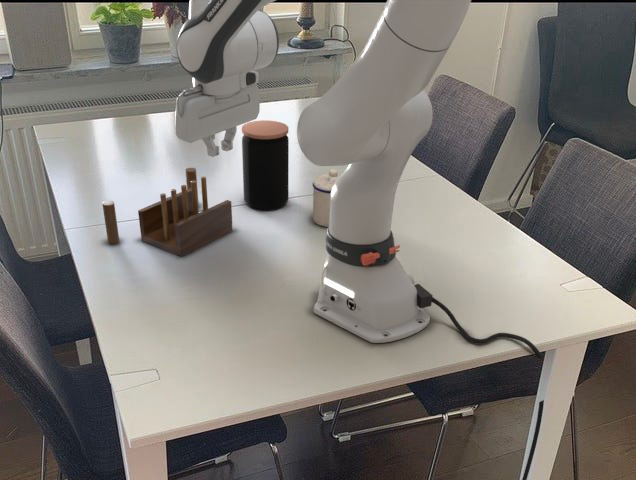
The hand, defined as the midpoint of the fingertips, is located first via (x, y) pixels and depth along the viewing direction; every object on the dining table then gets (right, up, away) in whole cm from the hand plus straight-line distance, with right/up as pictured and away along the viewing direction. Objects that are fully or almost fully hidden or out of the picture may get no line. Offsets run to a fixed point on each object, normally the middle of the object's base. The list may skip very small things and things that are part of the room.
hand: (220, 152), depth 148 cm
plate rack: (-9, -13, +17) cm, 24 cm away
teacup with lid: (+22, -8, +26) cm, 36 cm away
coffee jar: (+7, -3, +33) cm, 34 cm away
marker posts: (-17, -10, +22) cm, 30 cm away
